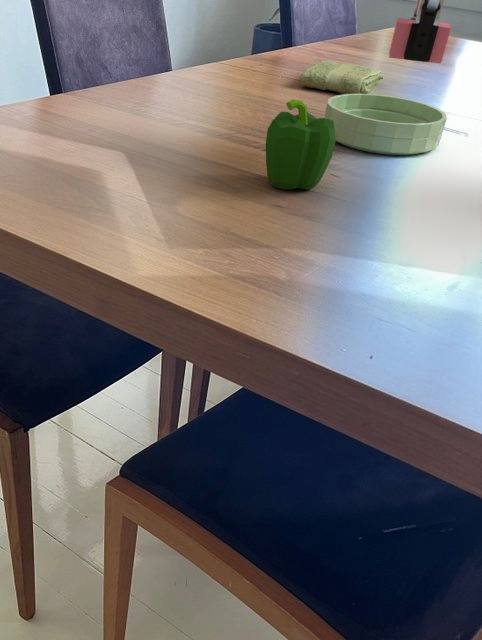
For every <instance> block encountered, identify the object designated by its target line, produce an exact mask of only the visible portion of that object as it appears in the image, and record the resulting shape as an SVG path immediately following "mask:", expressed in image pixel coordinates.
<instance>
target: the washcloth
mask: <svg viewBox="0 0 482 640" xmlns="http://www.w3.org/2000/svg"><path fill="white" fill-rule="evenodd" d="M383 79H384V74H383V72H382V71H381V70H380V69H376V68H373V67H369V66H368V67H367V66H363V65H361V64H359V65H357V64H353V63H338V62H336V61H334V60H331V59H326V60H320V61H319V62H317V63H315V64H314V65H312V66H309V67H308V68H306V69H304V71H303V72H302V74H301V76H300V85H301V86H303V87H305V88H310V89H316V90H321V91H331V92H335V93H338V94H340V95H343V94H369V92H370V91H372V89H373V88H374V86H376V84H378V83H379V82H380V81H381V80H383Z"/></svg>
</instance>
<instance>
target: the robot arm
mask: <svg viewBox="0 0 482 640" xmlns="http://www.w3.org/2000/svg"><path fill="white" fill-rule="evenodd" d="M444 2H445V0H416V3H415V7H414V10H413V11H414V12H413V15H412V17H410V19H412V20H415V23H412V25H411V29H410V33H409V37H408V41H407V45H406V49H405V53H404V59H403V60H406V61H412V62H413V61H414V62H421V63H422V62H423V63H429V62H428V61H429V60H430V57H431V53H432V50H433V46H434V42H435V38H436V35H437V31H438V27H439V26H437V25H438V22H439V21H440V18H441V14H442V10H443V6H444Z"/></svg>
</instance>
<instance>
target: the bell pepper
mask: <svg viewBox="0 0 482 640" xmlns="http://www.w3.org/2000/svg"><path fill="white" fill-rule="evenodd" d="M286 107H287V109H288V110H289V111H293V110H294V109H297V110H298V112H297V113H298V114H293V113H291V112H289V111H283V110H282V111H280V112H279V113H278V114H277V115H276V116H275V117H274V118H273V119H272V120H271V122H270V124H269V126H268V128H267V130H266V137H265V144H264V145H265V163H266V164H265V165H266V177H267V180H268V182H269V184H271V185H272V186H273V187H275V188H278V189H281V190H295V189H299V190H312V189H313V188H315V187H316V186H317V185H318V184H319V183H320V182H321V180H322V178H323V176H324V174H325V173H326V170H327V168H328V167H329V164H330V163H331V159H332V157H333V153H334V150H335V145H336V143H337V141H336V136H335V127H334V121H333V120H330V119H326V118H324V117H319V118H317V117H316V116H314V115H313V114H311V113H309V112H308V109H307V105H306V104H305V103H304V102H303V100H301V99H291V100H289V101H287V102H286Z"/></svg>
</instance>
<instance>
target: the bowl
mask: <svg viewBox="0 0 482 640" xmlns="http://www.w3.org/2000/svg"><path fill="white" fill-rule="evenodd" d="M323 118H326V119H330V120H333V121H334V127H335V136H336V143H339V144H341V145H342V146H345V147H349V148H352V149H355V150H359V151H363V152H367V153H374V154H381V155H389V156H390V155H391V156H408V155H409V156H410V155H418V154H421V153H426V152H431V151H434V150H436V148H438V147H439V146H440V143H441V138H442V136H443V133H444V129H445V125H446V122H447V119H448V117H447V114H446V112H444V111H443V110H441V109H439V108H437V107H435V106H433V105H430V104H428V103H423V102H421V101H417V100H413V99H409V98H403V97H398V96H393V95H392V96H391V95H384V94H376V93H375V94H373V93H370V94H369V93H364V94H338V95H334V96H332V97H329V98H328V99H327V102H326V108H325V113H324V117H323Z"/></svg>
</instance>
